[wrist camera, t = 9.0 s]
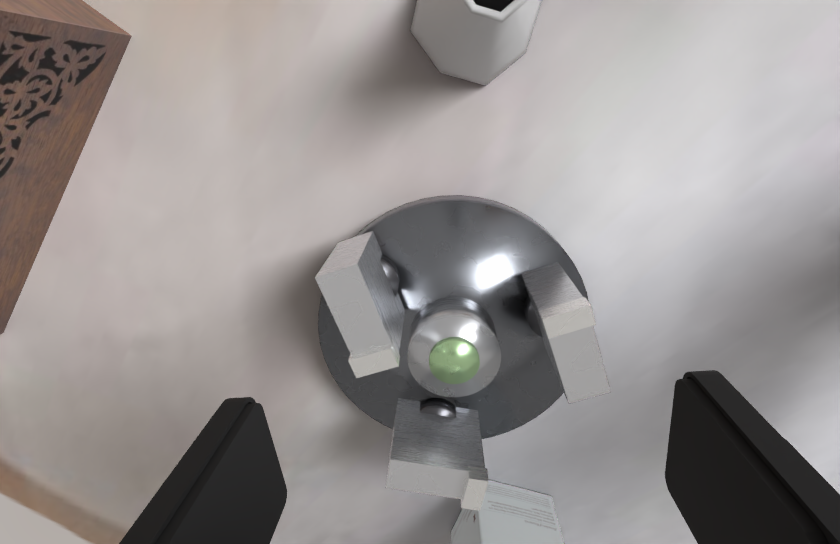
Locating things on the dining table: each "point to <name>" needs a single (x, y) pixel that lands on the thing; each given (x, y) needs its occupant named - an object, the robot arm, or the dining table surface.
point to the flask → (474, 35)
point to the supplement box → (509, 518)
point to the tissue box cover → (45, 118)
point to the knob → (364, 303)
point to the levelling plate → (465, 270)
